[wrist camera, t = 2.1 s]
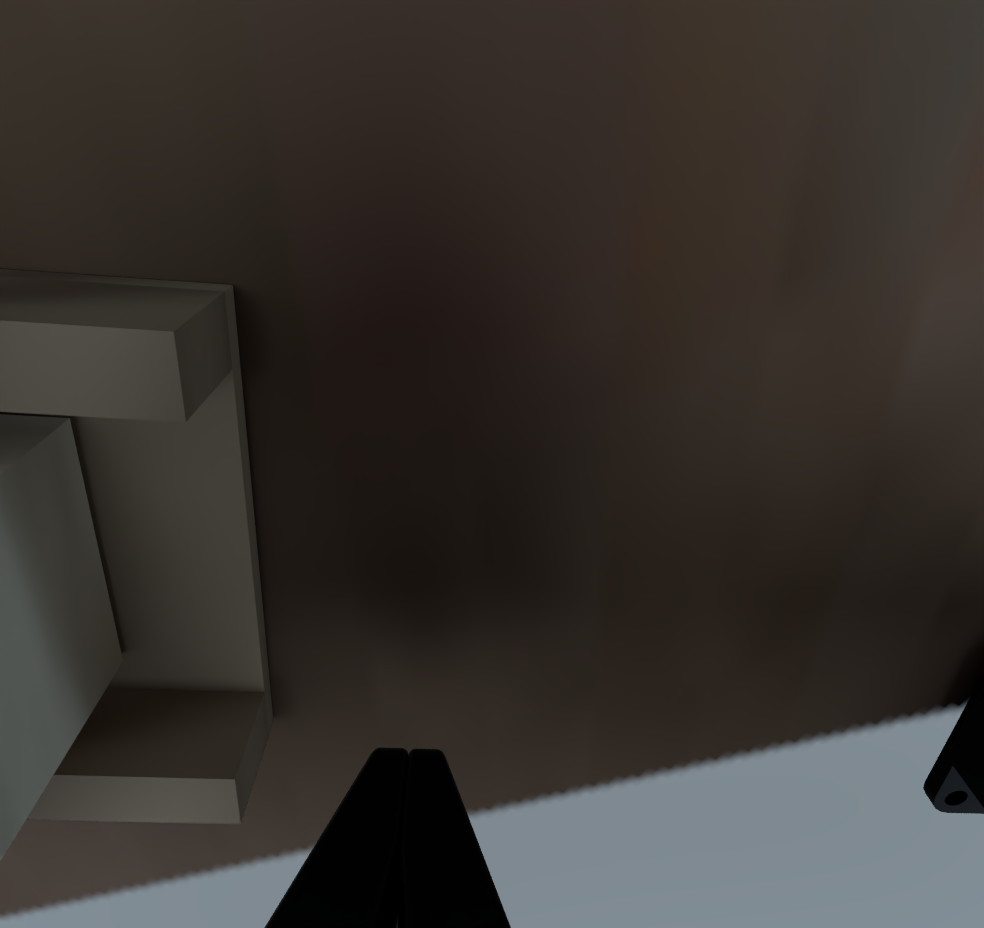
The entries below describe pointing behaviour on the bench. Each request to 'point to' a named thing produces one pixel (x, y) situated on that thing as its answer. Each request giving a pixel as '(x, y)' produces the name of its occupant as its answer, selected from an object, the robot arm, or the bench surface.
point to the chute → (154, 536)
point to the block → (46, 611)
